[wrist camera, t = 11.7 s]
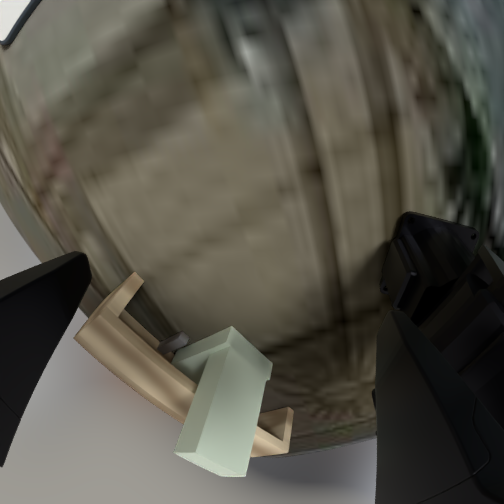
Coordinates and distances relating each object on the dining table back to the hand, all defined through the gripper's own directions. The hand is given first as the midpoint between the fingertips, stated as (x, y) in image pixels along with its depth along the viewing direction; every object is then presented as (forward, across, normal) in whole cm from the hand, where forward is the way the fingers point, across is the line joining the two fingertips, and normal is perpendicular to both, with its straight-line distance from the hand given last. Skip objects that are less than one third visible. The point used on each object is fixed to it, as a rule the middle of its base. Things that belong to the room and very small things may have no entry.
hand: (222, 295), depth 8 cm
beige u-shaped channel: (+12, +5, +21) cm, 25 cm away
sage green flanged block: (+12, +3, +19) cm, 22 cm away
